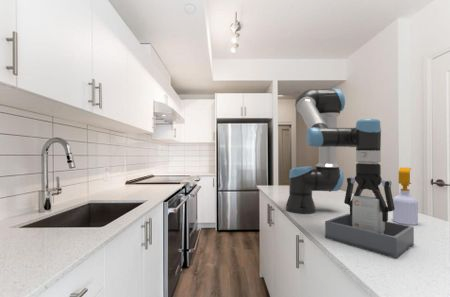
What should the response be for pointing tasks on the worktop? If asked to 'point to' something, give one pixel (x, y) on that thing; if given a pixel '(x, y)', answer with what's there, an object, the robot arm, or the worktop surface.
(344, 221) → the charcoal bin
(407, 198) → the soap bottle
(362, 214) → the small box
